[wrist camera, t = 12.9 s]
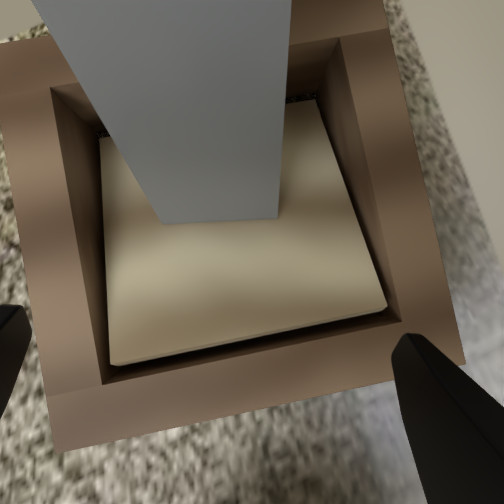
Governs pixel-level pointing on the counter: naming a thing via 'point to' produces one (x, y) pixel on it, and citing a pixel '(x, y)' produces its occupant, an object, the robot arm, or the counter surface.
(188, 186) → the grey rectangular block
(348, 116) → the frame
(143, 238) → the trapdoor plate
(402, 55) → the counter surface
